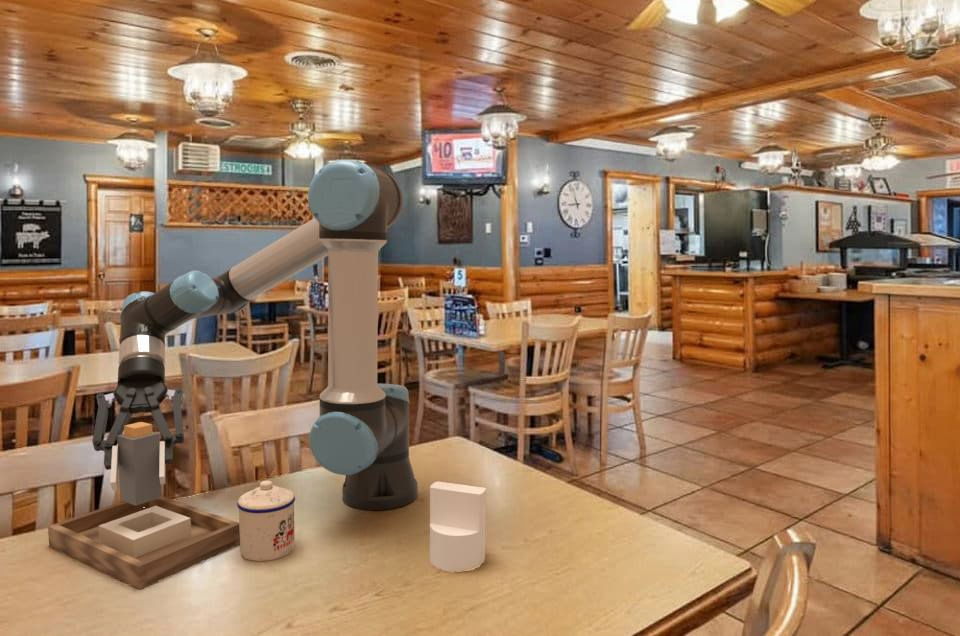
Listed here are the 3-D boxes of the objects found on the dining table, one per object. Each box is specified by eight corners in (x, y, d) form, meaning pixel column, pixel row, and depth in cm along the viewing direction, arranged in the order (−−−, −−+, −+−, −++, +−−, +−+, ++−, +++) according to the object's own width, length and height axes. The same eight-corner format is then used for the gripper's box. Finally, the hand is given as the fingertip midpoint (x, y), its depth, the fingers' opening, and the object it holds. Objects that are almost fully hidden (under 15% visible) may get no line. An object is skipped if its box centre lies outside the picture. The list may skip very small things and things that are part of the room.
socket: (191, 534, 111) (190, 518, 111) (134, 558, 103) (133, 540, 102) (156, 521, 116) (155, 505, 116) (99, 542, 108) (98, 525, 107)
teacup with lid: (283, 564, 103) (281, 493, 102) (228, 561, 104) (226, 490, 103) (310, 532, 115) (309, 468, 114) (261, 529, 116) (259, 466, 115)
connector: (161, 497, 110) (159, 424, 108) (135, 505, 106) (132, 430, 104) (146, 491, 112) (143, 420, 111) (120, 499, 108) (116, 426, 107)
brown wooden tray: (241, 543, 110) (241, 523, 110) (139, 589, 95) (138, 566, 95) (151, 510, 124) (150, 492, 124) (49, 546, 109) (47, 526, 108)
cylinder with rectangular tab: (492, 551, 108) (493, 481, 107) (474, 576, 100) (474, 501, 99) (442, 542, 111) (442, 475, 110) (420, 567, 103) (420, 493, 102)
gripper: (199, 374, 125) (203, 485, 112) (83, 381, 117) (72, 501, 104) (199, 351, 119) (202, 465, 106) (77, 357, 112) (65, 480, 99)
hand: (138, 483), depth 105 cm, fingers closed on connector, 6 cm apart
